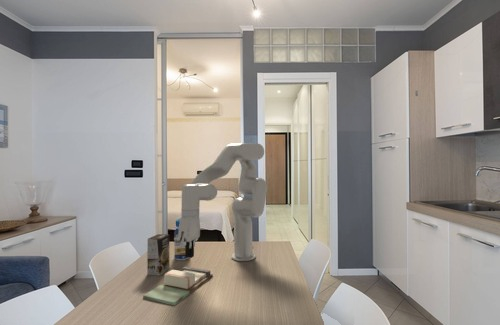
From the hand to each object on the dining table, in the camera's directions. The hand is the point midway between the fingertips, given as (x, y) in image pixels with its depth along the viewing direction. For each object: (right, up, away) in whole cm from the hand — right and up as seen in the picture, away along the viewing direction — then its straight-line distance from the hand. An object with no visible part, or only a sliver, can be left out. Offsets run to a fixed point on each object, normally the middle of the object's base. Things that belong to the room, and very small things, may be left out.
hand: (189, 256), depth 112 cm
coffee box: (-16, -10, +9) cm, 21 cm away
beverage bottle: (-10, -11, +27) cm, 31 cm away
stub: (-2, -8, -7) cm, 11 cm away
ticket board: (-2, -10, -6) cm, 12 cm away
